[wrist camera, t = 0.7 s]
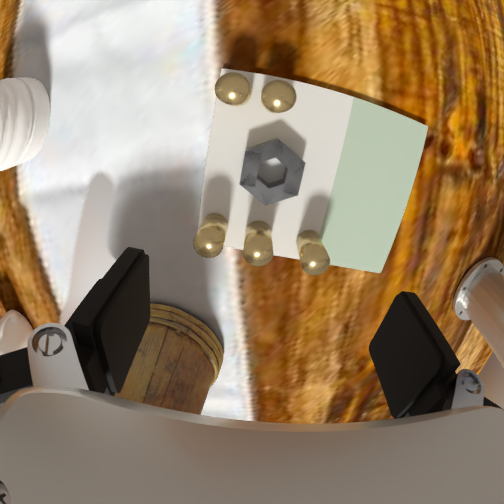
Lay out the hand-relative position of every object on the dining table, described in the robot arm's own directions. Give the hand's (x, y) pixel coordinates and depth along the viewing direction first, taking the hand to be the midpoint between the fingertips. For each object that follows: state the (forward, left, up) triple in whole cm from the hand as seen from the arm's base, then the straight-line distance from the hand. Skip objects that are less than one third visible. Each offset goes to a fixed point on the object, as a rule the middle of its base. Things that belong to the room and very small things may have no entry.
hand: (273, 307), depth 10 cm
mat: (-6, -1, -23) cm, 24 cm away
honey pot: (+35, -5, -23) cm, 42 cm away
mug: (+45, +35, -23) cm, 62 cm away
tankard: (+11, +31, -23) cm, 40 cm away
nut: (-1, -1, -22) cm, 22 cm away
